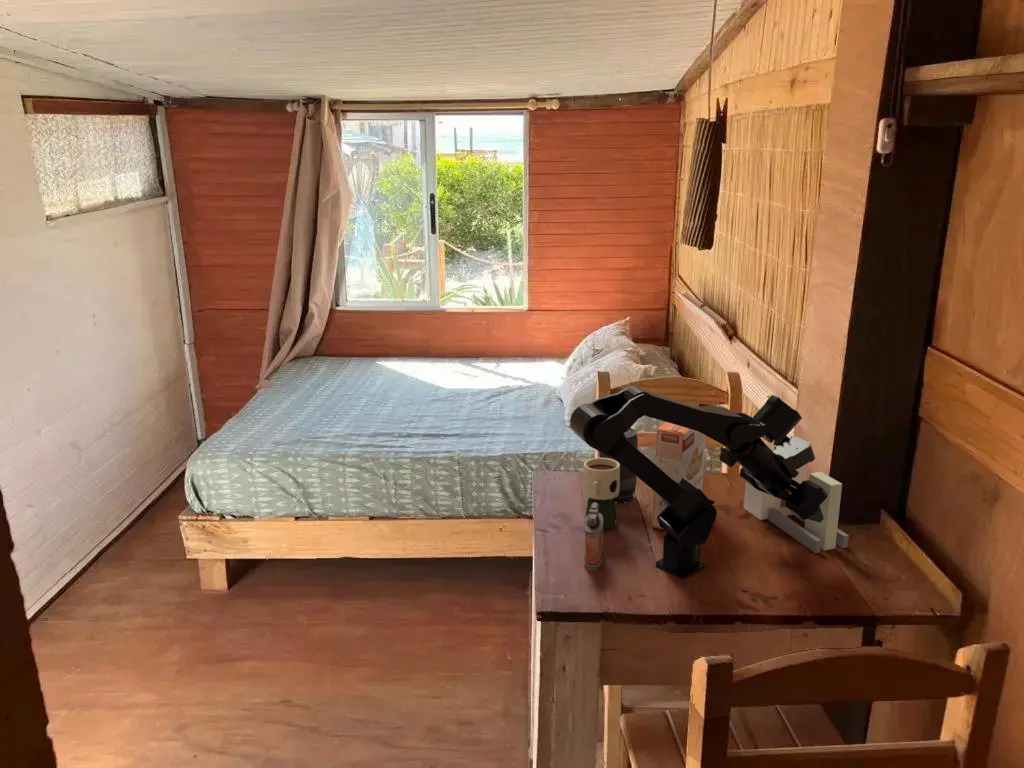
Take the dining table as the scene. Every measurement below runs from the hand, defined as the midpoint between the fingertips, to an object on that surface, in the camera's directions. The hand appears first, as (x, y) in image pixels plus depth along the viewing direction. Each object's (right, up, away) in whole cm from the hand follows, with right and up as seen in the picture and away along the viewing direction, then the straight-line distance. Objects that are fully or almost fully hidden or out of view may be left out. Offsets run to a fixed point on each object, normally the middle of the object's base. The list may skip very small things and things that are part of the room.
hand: (805, 509), depth 143 cm
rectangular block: (+4, -7, +3) cm, 8 cm away
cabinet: (+2, -5, +10) cm, 11 cm away
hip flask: (-39, -9, -2) cm, 41 cm away
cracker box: (-21, -4, +14) cm, 25 cm away
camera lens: (-32, -1, +24) cm, 40 cm away
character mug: (-37, -5, +12) cm, 39 cm away
